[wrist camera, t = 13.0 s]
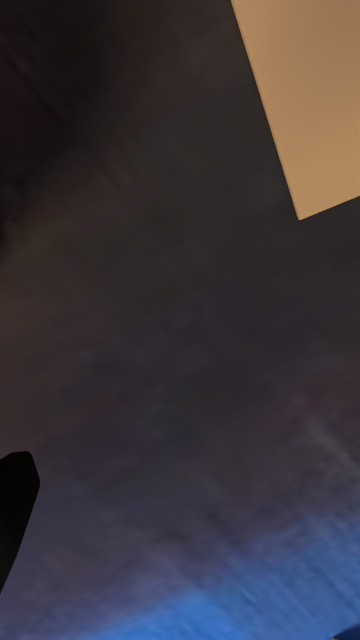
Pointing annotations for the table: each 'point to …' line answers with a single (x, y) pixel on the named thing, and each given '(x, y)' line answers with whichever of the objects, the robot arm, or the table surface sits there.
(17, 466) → the robot arm
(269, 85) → the carton
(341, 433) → the table surface
